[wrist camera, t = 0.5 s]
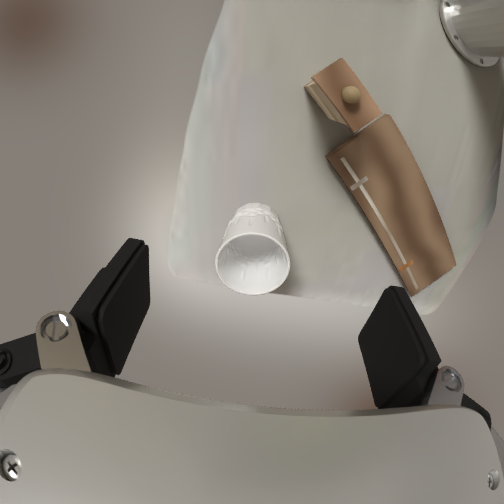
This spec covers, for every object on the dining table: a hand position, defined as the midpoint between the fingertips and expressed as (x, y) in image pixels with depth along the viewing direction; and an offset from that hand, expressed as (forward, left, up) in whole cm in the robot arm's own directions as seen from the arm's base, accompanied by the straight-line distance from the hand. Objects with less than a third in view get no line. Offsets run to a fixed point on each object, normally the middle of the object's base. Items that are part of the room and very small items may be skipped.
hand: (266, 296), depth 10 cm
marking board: (-11, +19, -27) cm, 34 cm away
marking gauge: (-11, -1, -27) cm, 29 cm away
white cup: (+7, +7, -27) cm, 28 cm away
